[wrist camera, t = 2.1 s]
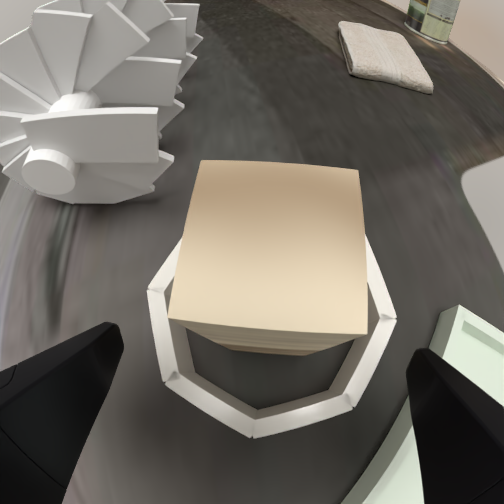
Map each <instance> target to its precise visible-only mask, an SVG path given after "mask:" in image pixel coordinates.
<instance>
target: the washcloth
mask: <svg viewBox="0 0 504 504" xmlns="http://www.w3.org/2000/svg"><path fill="white" fill-rule="evenodd" d="M338 27H339V39H340V43H341V46H342V50H343V53H344V56H345V59H346V63H347V67H348V71H349V73H350V74H351V75H354V76H356V77H359V78H365V79H370V80H375V81H384V82H387V83H391V84H396V85H398V86H400V87H404V88H408V89H412V90H415V91H420V92H422V93H426V94H430V93H433V85H432V84H433V82H432V81H431V79H430V77H429V75H428V74H427V72H426V71H425V68H423V65H422V64H421V62H420V60H419V58H418V57H417V56H416V54H415V52H414V51H413V50H412V48H411V47H410V45H409V44H408V43H407V41H406V39H405V38H404V37H403V36H402V35H400V34H398V33H395V32H391V31H384V30H379V29H375V28H372V27H369V26H366V25H363V24H360V23H351V22H346V21H341V22H339V25H338Z"/></svg>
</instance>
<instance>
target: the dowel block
mask: <svg viewBox="0 0 504 504" xmlns="http://www.w3.org/2000/svg"><path fill="white" fill-rule="evenodd" d="M167 318H169V319H170V320H172V321H174V322H176V323H178V324H180V325H182V326H184V327H186V328H187V329H189V330H191V331H193V332H195V333H197V334H199V335H201V336H203V337H205V338H207V339H209V340H211V341H213V342H215V343H218V344H220V345H222V346H224V347H226V348H228V349H230V350H235V351H244V352H254V353H265V354H278V355H293V356H305V355H308V354H312V353H315V352H318V351H321V350H324V349H327V348H330V347H333V346H336V345H339V344H342V343H344V342H347V341H350V340H353V339H356V338H358V337H361V336H364V335H366V334H367V327H368V290H367V261H366V243H365V229H364V218H363V207H362V198H361V189H360V181H359V174H358V170H352V169H344V168H335V167H326V166H315V165H304V164H291V163H276V162H257V161H225V160H201V163H200V167H199V170H198V174H197V178H196V182H195V186H194V190H193V194H192V198H191V202H190V206H189V211H188V215H187V219H186V224H185V228H184V233H183V237H182V242H181V246H180V251H179V256H178V261H177V266H176V271H175V276H174V282H173V287H172V293H171V298H170V304H169V310H168V316H167Z"/></svg>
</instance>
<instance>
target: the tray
mask: <svg viewBox="0 0 504 504" xmlns="http://www.w3.org/2000/svg"><path fill="white" fill-rule="evenodd" d="M429 349H431V350H432V351H433V352H435V353H436V354H437V355H438V356H440V357H441V358H442V359H444V360H445V361H446V362H448V363H449V364H450V365H452V366H453V367H454V368H455V369H457V370H458V371H459V372H461V373H462V374H463V375H465V376H466V377H467V378H468V379H470V380H471V381H472V382H473V383H475V384H476V385H477V386H479V387H480V388H481V389H482V390H484V391H485V392H486V393H487V394H489V395H490V396H491V397H492V398H494V399H495V400H496V401H497V402H499V403H500V404H501V405H502V406H504V333H503V332H501V331H500V330H498V329H497V328H495V327H494V326H492V325H491V324H489V323H487V322H486V321H484V320H483V319H481V318H480V317H478V316H477V315H475V314H473V313H472V312H470V311H469V310H467V309H465V308H464V307H462V306H461V305H457V306H455V307H453V308H450V309H448V310H446V311H443V312H441V313H440V316H439V319H438V322H437V325H436V328H435V331H434V334H433V337H432V340H431V342H430V345H429ZM341 504H424V498H423V488H422V479H421V472H420V465H419V458H418V452H417V446H416V440H415V435H414V429H413V424H412V419H411V412H410V403H409V395H408V397H407V399H406V401H405V403H404V405H403V407H402V409H401V411H400V413H399V415H398V417H397V419H396V421H395V422H394V424H393V426H392V428H391V430H390V431H389V433H388V435H387V437H386V438H385V440H384V442H383V443H382V445H381V447H380V448H379V450H378V452H377V453H376V455H375V456H374V458H373V459H372V461H371V462H370V464H369V466H368V467H367V468H366V470H365V471H364V473H363V474H362V476H361V477H360V479H359V480H358V481H357V483H356V484H355V485H354V487H353V488H352V490H351V491H350V492H349V493H348V495H347V496H346V497H345V499H344V500H343V501H342V502H341Z"/></svg>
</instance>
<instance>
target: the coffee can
mask: <svg viewBox="0 0 504 504" xmlns="http://www.w3.org/2000/svg"><path fill="white" fill-rule="evenodd" d="M459 3H460V0H410V4H409V9H408V13H407V17H406V21H405V23H404V24H405V26H406V27H407V28H408V29H410V30H411V31H413V32H414V33H416V34H418V35H420V36H422V37H424V38H426V39H428V40H430V41H433V42H436V43H439V44H447V41H448V38H449V35H450V32H451V29H452V26H453V23H454V19H455V16H456V13H457V10H458V6H459Z"/></svg>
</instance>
